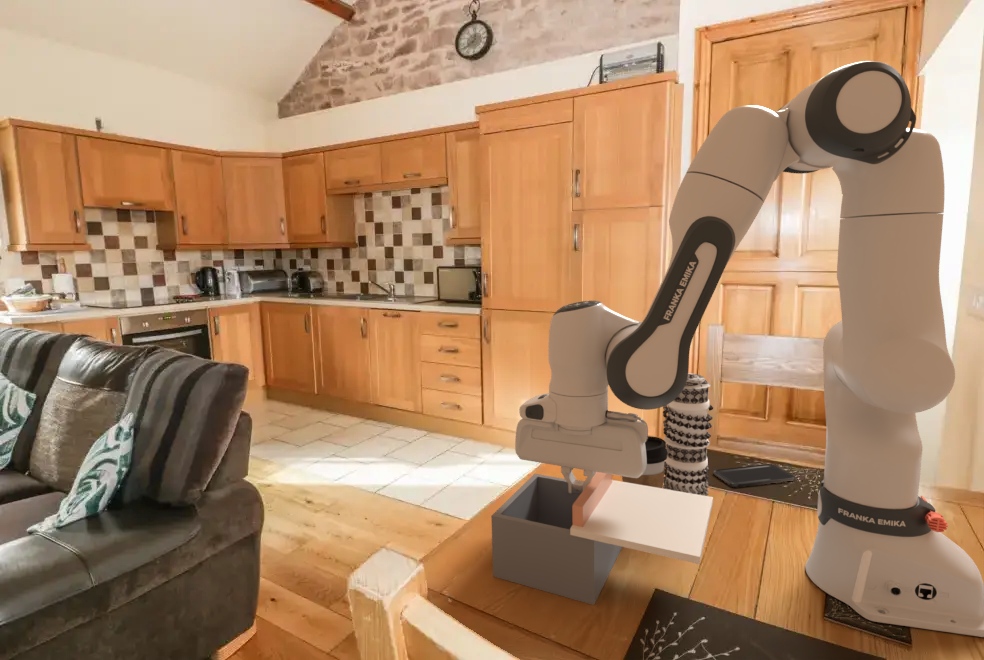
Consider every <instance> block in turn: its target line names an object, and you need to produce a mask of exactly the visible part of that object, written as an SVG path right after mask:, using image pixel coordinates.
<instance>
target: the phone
mask: <svg viewBox="0 0 984 660" xmlns="http://www.w3.org/2000/svg"><path fill="white" fill-rule="evenodd" d="M713 475H714V477H716V478H717V477H718V478H717V479H719V480H720V479H721V480H720V481H722V480H723V481H724V482H723V481H722V482H723V483H725V484H726V483H727V484H726V485H728V486H729V485H730V486H729V487H731V486H732V487H731V488H734V487H741V488H747V487H746V486H750V487H756V486H755V485H758V486H762V485H761V484H767V485H771V484H770V483H774V482H782V481H793V480H795V481H796V476H795V475H793V474H792V473H790V472H788V471H786V470H784V469H783V468H781V467H779V466H777V465H775V464H758V465H757V464H756V465H748V466H747V465H746V466H737V467H730V468H720V469H719V468H717V469H714V470H713ZM793 482H794V481H793Z"/></svg>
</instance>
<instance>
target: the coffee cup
mask: <svg viewBox="0 0 984 660" xmlns="http://www.w3.org/2000/svg"><path fill="white" fill-rule="evenodd" d="M666 444H667V443H666V442H665V440H664V438H661V437H657V436H650V435H648V439H647V441H646V442H645V447H646V456H647V466H646V469H645V471H644V473H643V474H642V475H641V476H640V477H639V478H631V477H625V476H621V478H622V479H621V480H622V482H627V483H633V484H639V485H645V486H651V487H657V488H662V489H663V485H664V483H663V481H664V477H665V475H664V473H665V467H664V462H665V460H666V459H667V451H666Z"/></svg>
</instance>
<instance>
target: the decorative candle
mask: <svg viewBox="0 0 984 660" xmlns="http://www.w3.org/2000/svg"><path fill="white" fill-rule="evenodd" d="M707 381H708V380H707V379H706V378H705V377H704V375H700V374H698V373H690V372H688V377H687V381H686V384H685V387H684V389H683V390H682V392H681V393H680V395H679V396H678V397H677V398H676V399H675V400H674V401H672V402H671V403H669V404H667V405H665V406H663V407H662V408H663V411H662V416H663V418H664V420H663V421H662V424H663V427H664V428H663V434H664V435H665V436H664V438H663V440H664V441H665V442H666V451H667V459H666V460H665V461H664V467H665V473H664V481H663V489H668V490H674V491H680V492H686V493H692V494H698V495H703V496H709V487H710V486H709V482H708V479H710V478H709V477H710V476H709V473H708V472H709V471H710V469H709V465H708V464H709V463H708V460H709V459H708V456H707V453H708V449H707V448H708V447H709V446H710V441H709V439H710V438H711V437H712V434H711V433H709V432H708V430H709V429H712V428H713V426H712V424H711V422H710V421H712V420H713V416H711V415H710V414H709V413H708V412H711V411H713V410H714V407H713V406H712V404H710V399H709V395H710V391H709V388H710V387H711V386H712V384H711V383H710V382H707Z"/></svg>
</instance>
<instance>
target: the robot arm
mask: <svg viewBox="0 0 984 660" xmlns="http://www.w3.org/2000/svg"><path fill="white" fill-rule="evenodd" d="M916 122H917V116H916V114H915V112H914V109H913V108H912V99H911V93H910V90H909V87H908V85H907V83H906V81H905V79H904V78H903V76H902V75H901V73H900V72H899V71H898V70H897V69H896V68H895V67H893V66H891V65H889V64H888V63H885V62H881V61H874V60H872V61H871V60H865V61H864V60H863V61H857V62H854V63H850V64H846V65H843V66H841V67H838V68H836V69H834V70H832V71H831V72H828V73H827V74H826V75H824V76H823V77H821V78H820V79H818V80H816V81H814V82H813V83H811V84H810V85H808V86H806V87H805V88H804V89H802V90H801V91H799V93H798V94H797V95H796V96H795V97H794V98H792V99H791V100H789V101H788V103H786V104H785V105H782V107H780V108H779V109H778V110H772V109H769V108H767V107H764V106H761V105H749V104H748V105H740V106H736V107H733V108H732V109H730V110H728V111H726V112H725V114H723V115H722V116H721V118H720V119H719V120H718V121H717V122H716V124H715V125H714V127H713V128H712V129H711V131H710V132H709V134H708V135H707V136H706V138H705V139H704V140H703V143H702V144H701V146H700V147H699V149H698V151H697V152H696V154H695V156H694V157H693V160H692V161H691V163H690V165H689V167H688V168H687V170H686V172H685V175H684V177H683V178H682V181H681V183H680V185H679V187H678V189H677V192H676V196H675V198H674V201H673V204H672V207H671V211H670V215H669V218H668V223H669V224H668V225H669V230H670V234H671V241H672V245H671V246H672V247H671V248H672V249H671V257H670V262H669V263H668V268H667V269H666V272H665V274H664V276H663V279H662V280H661V283H660V284H659V287H658V290H657V291H656V294H655V295H654V297H653V300H652V302H651V304H650V306H649V307H648V310H647V312H646V315H645V316H644V319H643V320H642V321H640V320H636V319H633V318H630V317H627V316H625V315H623V314H620V313H619V312H616V311H615V310H612V309H611V308H609V307H608V306H606V305H605V304H604V303H603V302H602V301H599V300H583V301H578V302H573V303H568V304H566V305H563V306H561V307H559V308H557V310H556V311H555V313H553V315H552V316H551V320H550V325H549V331H548V364H549V368H550V371H551V372H550V375H551V376H550V382H549V384H548V393H542V394H538V395H535V396H533V397H532V398H530V399H528V400H526V401H525V402H523V404H521V405H520V406H519V410H518V411H519V417H520V418H521V419H519V421H518V422H517V425H516V430H515V443H514V445H515V448H514V449H515V451H514V452H515V454H516V456H517V457H518V458H519V459H520V460H521V461H529V462H533V463H534V462H535V463H541V464H546V465H551V466H552V465H553V466H559V467H560V469H561V471H560V473H561V475H562V476H563V477H564V478H563V479H566V481H567V483H568V491H569V493H571V494H577V495H580V494H581V493H582V492H583V490H584V489H585V488H586V486H587V485H588V484H589V483H590V481H591V480H592V478H593V477H594V476H595V474H596V473H597V472H600V473H607V474H612V476H613V475H614V476H620V477H622V476H625V477H631V478H639V477H640V476H641V475H642V474H643V473H644V471H645V469H646V466H647V456H646V447H645V442H646V441H647V439H648V436H649V427H648V424H647V422H646V421H645V420H644V419H643V418H642V417H640V416H639V415H638V414H637V413H634V412H633V413H632V412H629V413H624V412H620V411H612V410H608V409H609V407H608V406H609V404H608V403H609V402H608V401H609V395H608V394H609V388H610V391H611V392H612V393H613V395H614V396H615V397H616V398H617V399H618V400H619V401H620V402H621V403H623V404H625V405H627V406H629V407H631V408H634V409H637V410H655V409H659V408H663V406H665V405H667V404H669V403H671V402H672V401H674V400H675V399H676V398H677V397H678V396H679V395H680V393H681V392H682V390H683V389H684V387H685V384H686V381H687V377H688V373H689V368H690V367H689V362H690V349H691V344H692V341H693V338H694V336H695V334H696V331H697V329H698V328H699V325H700V323H701V320H702V319H703V317H704V314H705V311H706V310H707V308H708V305H709V304H710V301H711V299H712V297H713V295H714V293H715V290H716V288H717V286H718V284H719V283H720V279H721V277H722V276H723V273H724V271H725V269H726V267H727V265H728V264H729V262H730V261H731V259H732V257H733V255H734V253H735V252H736V250H737V249H738V247H739V245H740V243H742V240H744V237H746V235H747V233H748V231H749V229H750V228H751V226H752V224H753V223H754V222H755V219H756V218H757V216H758V214H759V212H760V211H761V208H762V207H763V205H764V203H765V201H766V199H767V197H768V195H769V194H770V191H771V189H772V187H773V185H774V182H775V181H776V180H777V179H778V178H779V177H780V175H781V174H782V173H789V174H799V175H801V174H810V173H815V172H817V171H820V170H821V171H822V170H827V169H830V168H831V169H832V171H834V173H835V175H836V177H837V179H838V181H839V184H840V189H841V190H840V191H841V194H842V197H841V206H840V216H839V218H840V219H839V232H838V233H839V234H838V247H837V248H838V250H837V262H836V263H837V264H836V278H837V283H838V289H839V291H838V292H839V299H840V306H841V307H840V309H841V310H840V311H841V320H840V321H838V322H836V323H835V324H834V325H832V327H831V328H830V329H829V330H828V332H827V333H826V334H825V337H824V339H823V343H822V344H823V345H822V351H823V392H824V393H823V394H824V410H825V412H824V413H825V424H826V428H825V429H826V432H825V433H826V435H825V436H826V437H825V438H826V439H825V442H826V443H825V456H824V472H823V479H822V480H821V481H820V483H819V490H818V494H817V513H816V514H817V517H818V525H817V531H816V535H815V539H814V542H813V547H812V549H811V551H810V554H809V557H808V559H807V560H806V562H805V567H804V569H805V571H806V574H807V576H808V578H809V579H810V580H811V581H812V582H813V583H814V585H816V587H819V588H820V590H822V591H824V592H825V593H826V594H828V595H829V596H832V597H833V598H836V599H837V600H839V601H841V602H843V603H845V605H847V606H850V608H851V609H853V610H854V611H855V612H856V613H857V614H859V615H860V616H861V617H863V618H864V619H866V620H869V621H871V622H877V623H882V624H887V625H889V624H890V625H896V626H902V627H903V626H905V627H910V628H916V629H917V628H918V629H924V630H932V631H938V632H946V633H952V634H958V635H967V636H973V637H981V638H984V581H983V577H982V575H981V574H982V573H981V572H980V570H979V568H978V566H977V565H976V563H975V562H974V559H973V558H972V557H970V555H969V554H968V553H967V552H966V551H965V550H964V549H963V548H962V547H960V546H959V545H958V544H956V543H955V542H954V541H953V540H952V539H950V538H949V537H947V536H946V535H944V534H943V532H945V531H947V529H948V522H947V521H946V520H945V518H944V516H943V515H942V514H941V513H939V512H936V508H935V507H934V506H933V505H932V504H931V503H929V502H928V501H927V499H926V498H925V497H924V496H923V495H920V496H919V492H920V491H919V489H920V478H921V468H922V459H923V458H922V457H923V444H922V439H921V436H920V432H919V429H918V427H919V426H918V422H917V415H916V414H917V413H921V412H925V411H928V410H931V409H933V408H934V407H936V406H937V405H939V404H940V403H942V402H944V400H945V399H947V397H948V396H949V394H950V393H951V392H952V390H953V387H954V384H955V379H956V370H955V366H954V363H953V361H952V359H951V356H950V353H949V350H948V345H947V337H946V335H947V334H946V325H945V316H944V309H943V303H942V295H941V289H940V288H941V286H940V262H941V261H940V259H941V246H942V237H943V236H942V235H943V223H944V222H943V220H944V212H945V211H944V209H945V174H944V165H943V164H944V163H943V158H942V151H941V145H940V142H939V140H938V139H937V138H936V137H935V136H934V134H932V133H930V132H928V131H925V130H922V129H919V128H918V129H917V128H915V127H916ZM909 124H910V126H909ZM573 469H576V470H583V476H584V477H586V478H585V480H581V479H580V480H579V479H577V478H576V476H575V475H574V473H573Z"/></svg>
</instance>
